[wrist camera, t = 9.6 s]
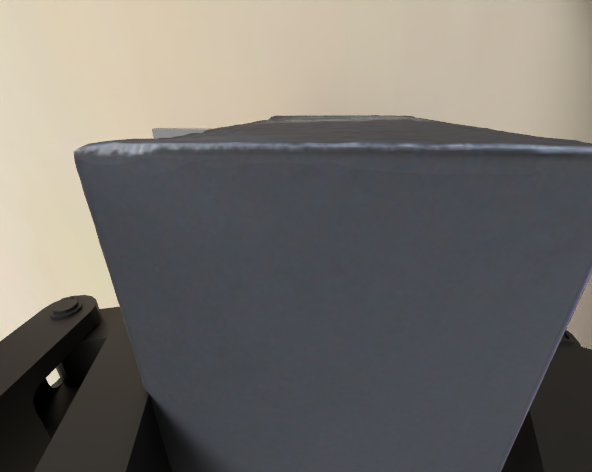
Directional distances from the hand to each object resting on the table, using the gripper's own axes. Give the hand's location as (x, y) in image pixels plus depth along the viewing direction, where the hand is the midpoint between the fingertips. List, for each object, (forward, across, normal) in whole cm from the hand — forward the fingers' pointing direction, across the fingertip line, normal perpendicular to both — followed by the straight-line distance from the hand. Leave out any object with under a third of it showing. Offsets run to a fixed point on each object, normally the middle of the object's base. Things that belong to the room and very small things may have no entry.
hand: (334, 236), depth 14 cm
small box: (+1, 0, 0) cm, 1 cm away
